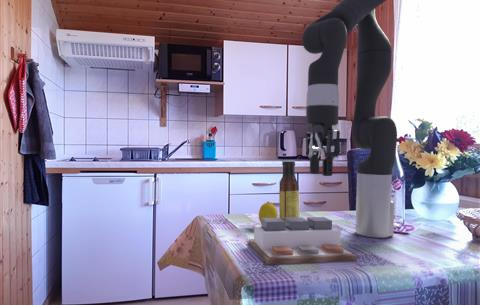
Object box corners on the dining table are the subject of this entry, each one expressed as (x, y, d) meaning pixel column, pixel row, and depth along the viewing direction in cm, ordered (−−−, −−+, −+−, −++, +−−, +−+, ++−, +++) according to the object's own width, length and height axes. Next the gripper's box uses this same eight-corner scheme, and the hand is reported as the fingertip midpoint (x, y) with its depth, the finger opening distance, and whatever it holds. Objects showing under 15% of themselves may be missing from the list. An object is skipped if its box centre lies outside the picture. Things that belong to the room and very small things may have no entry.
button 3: (278, 234, 84) (279, 217, 84) (284, 239, 80) (285, 221, 80) (261, 234, 83) (261, 218, 83) (266, 239, 79) (266, 221, 79)
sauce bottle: (301, 222, 113) (303, 161, 112) (294, 225, 107) (295, 161, 107) (283, 219, 116) (285, 160, 116) (275, 223, 111) (276, 160, 111)
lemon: (276, 231, 100) (276, 203, 100) (257, 230, 101) (257, 202, 101) (278, 227, 105) (278, 200, 105) (259, 225, 106) (260, 199, 106)
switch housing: (324, 239, 89) (325, 223, 89) (340, 247, 81) (340, 230, 81) (253, 241, 85) (254, 224, 85) (262, 250, 77) (263, 232, 77)
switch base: (323, 240, 91) (324, 231, 91) (356, 260, 75) (356, 249, 75) (248, 243, 87) (249, 233, 87) (267, 264, 71) (267, 253, 71)
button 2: (301, 233, 85) (301, 217, 85) (308, 238, 81) (309, 221, 81) (284, 234, 84) (284, 217, 84) (290, 238, 80) (291, 221, 80)
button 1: (323, 233, 87) (323, 216, 86) (331, 237, 82) (332, 220, 82) (306, 233, 86) (307, 217, 86) (314, 238, 81) (314, 221, 81)
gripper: (352, 102, 77) (350, 177, 78) (323, 109, 91) (322, 172, 92) (320, 100, 76) (318, 177, 76) (296, 107, 90) (294, 172, 90)
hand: (320, 174), depth 84 cm, fingers open, 6 cm apart
